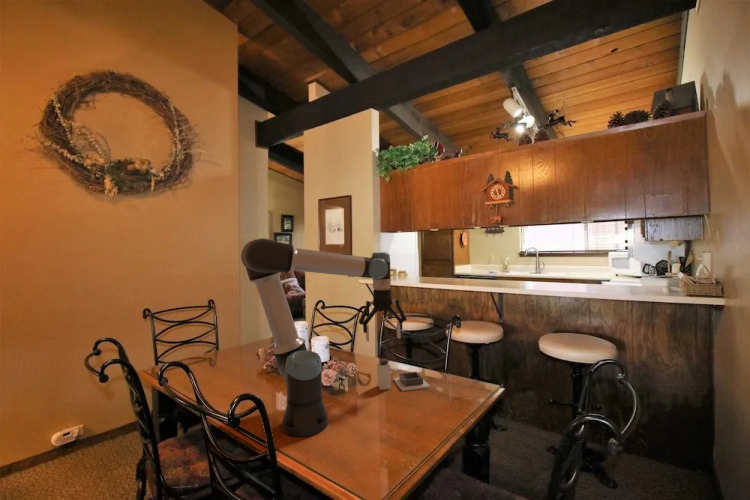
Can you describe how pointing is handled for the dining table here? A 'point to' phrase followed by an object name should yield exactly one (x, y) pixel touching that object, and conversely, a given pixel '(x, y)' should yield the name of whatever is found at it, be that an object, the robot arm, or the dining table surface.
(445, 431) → the dining table surface
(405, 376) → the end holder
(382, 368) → the grey bottle
